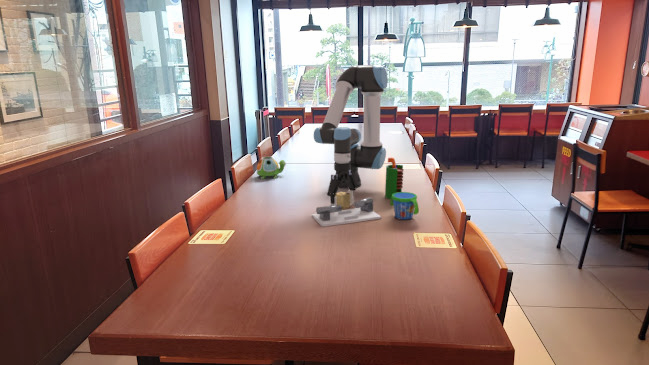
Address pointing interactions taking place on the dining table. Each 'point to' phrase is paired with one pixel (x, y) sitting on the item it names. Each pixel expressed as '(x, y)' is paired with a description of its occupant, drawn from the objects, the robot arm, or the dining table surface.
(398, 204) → the snack cup
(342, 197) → the block
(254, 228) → the dining table surface
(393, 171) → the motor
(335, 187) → the robot arm
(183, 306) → the dining table surface
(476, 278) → the dining table surface
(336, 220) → the base plate
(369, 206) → the shaft
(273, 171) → the turtle holder
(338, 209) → the shaft
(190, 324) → the dining table surface
